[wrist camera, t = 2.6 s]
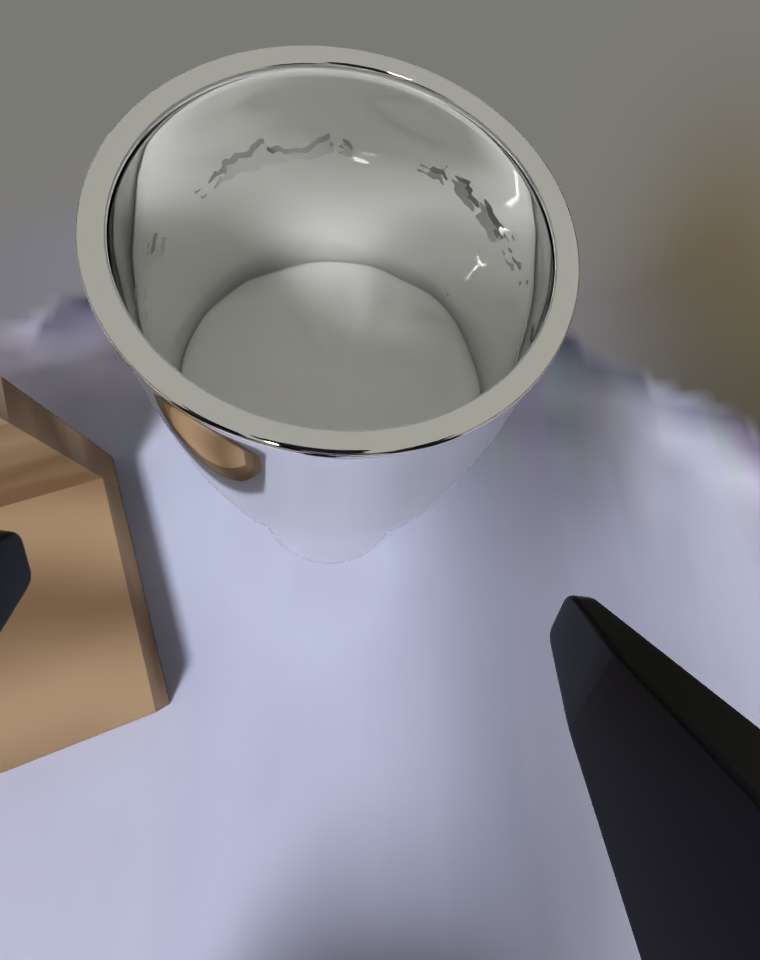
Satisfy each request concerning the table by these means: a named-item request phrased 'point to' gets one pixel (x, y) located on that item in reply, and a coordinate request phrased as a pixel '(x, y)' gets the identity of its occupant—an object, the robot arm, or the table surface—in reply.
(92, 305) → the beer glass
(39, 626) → the cleat board
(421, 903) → the table surface
